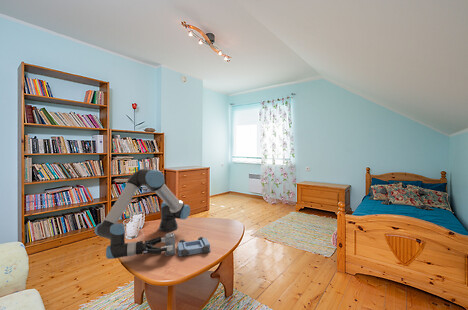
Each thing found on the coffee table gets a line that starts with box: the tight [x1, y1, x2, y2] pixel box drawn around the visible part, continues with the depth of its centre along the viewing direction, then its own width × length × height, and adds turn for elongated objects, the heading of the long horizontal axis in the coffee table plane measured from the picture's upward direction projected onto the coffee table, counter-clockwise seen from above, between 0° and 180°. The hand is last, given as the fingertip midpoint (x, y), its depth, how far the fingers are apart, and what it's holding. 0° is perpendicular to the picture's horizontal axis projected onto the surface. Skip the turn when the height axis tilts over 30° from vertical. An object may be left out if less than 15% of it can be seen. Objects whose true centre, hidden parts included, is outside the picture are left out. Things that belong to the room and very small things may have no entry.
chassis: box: [176, 236, 211, 258], centre depth 140 cm, size 16×20×4 cm
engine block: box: [164, 232, 176, 257], centre depth 135 cm, size 6×6×12 cm
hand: (172, 243), depth 136 cm, fingers open, 13 cm apart
